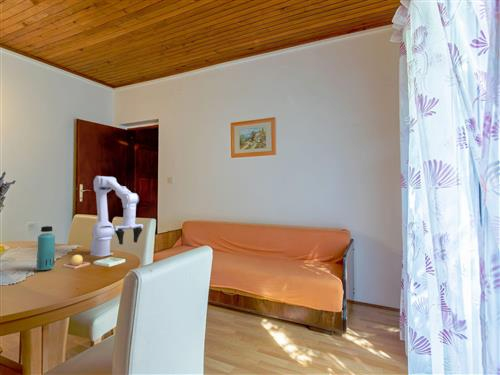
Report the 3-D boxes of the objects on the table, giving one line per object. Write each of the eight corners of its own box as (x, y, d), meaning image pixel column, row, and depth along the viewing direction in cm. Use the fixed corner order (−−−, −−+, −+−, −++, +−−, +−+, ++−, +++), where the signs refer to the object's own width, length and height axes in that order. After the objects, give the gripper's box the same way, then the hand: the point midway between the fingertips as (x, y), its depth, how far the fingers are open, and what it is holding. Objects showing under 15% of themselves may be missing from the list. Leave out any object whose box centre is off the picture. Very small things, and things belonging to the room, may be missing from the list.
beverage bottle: (44, 274, 117) (46, 227, 117) (31, 272, 119) (33, 226, 119) (57, 269, 124) (59, 225, 124) (45, 268, 125) (47, 225, 125)
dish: (62, 267, 127) (62, 264, 127) (78, 263, 135) (78, 260, 135) (74, 269, 125) (74, 267, 125) (90, 265, 132) (90, 262, 132)
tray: (93, 265, 133) (93, 261, 133) (110, 260, 142) (110, 256, 142) (109, 267, 129) (109, 264, 129) (125, 262, 139) (125, 259, 139)
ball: (67, 265, 128) (68, 255, 128) (77, 263, 133) (77, 253, 133) (75, 267, 127) (75, 256, 127) (85, 264, 131) (85, 254, 131)
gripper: (119, 218, 131) (117, 246, 131) (146, 216, 143) (145, 242, 143) (112, 216, 136) (111, 244, 136) (139, 215, 147) (138, 240, 147)
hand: (128, 243), depth 139 cm, fingers open, 7 cm apart
